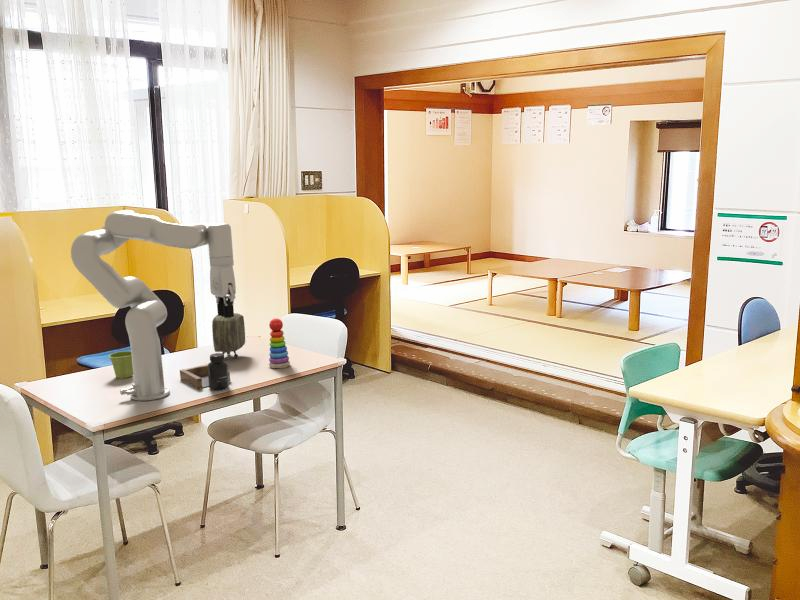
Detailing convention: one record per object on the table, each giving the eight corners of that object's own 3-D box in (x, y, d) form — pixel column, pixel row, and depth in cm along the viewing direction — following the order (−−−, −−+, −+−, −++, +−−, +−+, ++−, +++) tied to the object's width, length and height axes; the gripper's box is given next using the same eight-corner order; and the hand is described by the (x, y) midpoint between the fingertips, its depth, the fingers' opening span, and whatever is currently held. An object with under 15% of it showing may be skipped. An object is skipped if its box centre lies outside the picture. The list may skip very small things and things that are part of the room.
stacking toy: (291, 363, 280) (288, 316, 276) (288, 368, 272) (285, 320, 268) (270, 363, 280) (267, 316, 276) (267, 369, 272) (264, 321, 268)
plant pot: (107, 380, 264) (105, 358, 262) (115, 373, 273) (112, 351, 271) (133, 379, 265) (131, 356, 263) (140, 372, 274) (138, 350, 272)
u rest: (198, 389, 250) (197, 379, 250) (180, 379, 262) (179, 370, 262) (230, 381, 258) (229, 372, 257) (211, 372, 270) (211, 363, 269)
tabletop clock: (225, 353, 297) (221, 294, 293) (247, 353, 297) (242, 293, 292) (214, 363, 283) (209, 300, 279) (237, 362, 283) (232, 300, 278)
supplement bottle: (224, 391, 247) (221, 357, 245) (205, 390, 248) (202, 357, 246) (232, 385, 254) (230, 352, 251) (214, 384, 255) (212, 351, 253)
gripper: (200, 260, 239) (204, 314, 242) (222, 265, 226) (226, 321, 230) (221, 258, 244) (225, 310, 247) (243, 262, 231) (247, 318, 234)
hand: (225, 315), depth 238 cm, fingers open, 4 cm apart
